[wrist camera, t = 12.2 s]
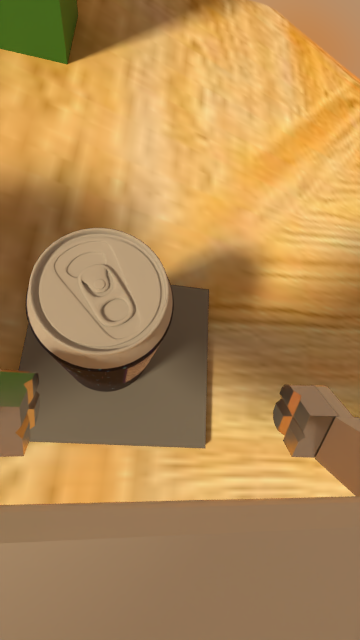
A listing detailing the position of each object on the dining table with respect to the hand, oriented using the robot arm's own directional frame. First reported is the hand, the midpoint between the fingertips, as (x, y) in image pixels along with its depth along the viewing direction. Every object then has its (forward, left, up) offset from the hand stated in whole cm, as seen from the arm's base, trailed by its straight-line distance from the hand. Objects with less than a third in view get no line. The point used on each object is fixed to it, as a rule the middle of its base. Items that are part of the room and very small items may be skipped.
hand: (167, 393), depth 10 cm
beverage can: (+4, +2, -12) cm, 13 cm away
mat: (+4, +2, -13) cm, 14 cm away
